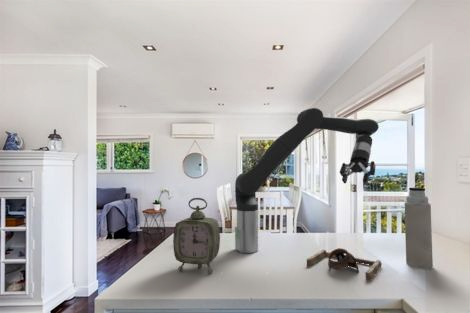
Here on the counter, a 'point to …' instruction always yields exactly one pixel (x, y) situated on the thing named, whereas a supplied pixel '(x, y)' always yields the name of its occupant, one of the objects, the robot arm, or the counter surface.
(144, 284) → the counter surface
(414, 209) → the thermos bottle
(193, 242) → the tabletop clock
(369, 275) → the walnut mug dock
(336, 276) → the counter surface
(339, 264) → the pottery mug
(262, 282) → the counter surface
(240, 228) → the robot arm
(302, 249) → the counter surface
